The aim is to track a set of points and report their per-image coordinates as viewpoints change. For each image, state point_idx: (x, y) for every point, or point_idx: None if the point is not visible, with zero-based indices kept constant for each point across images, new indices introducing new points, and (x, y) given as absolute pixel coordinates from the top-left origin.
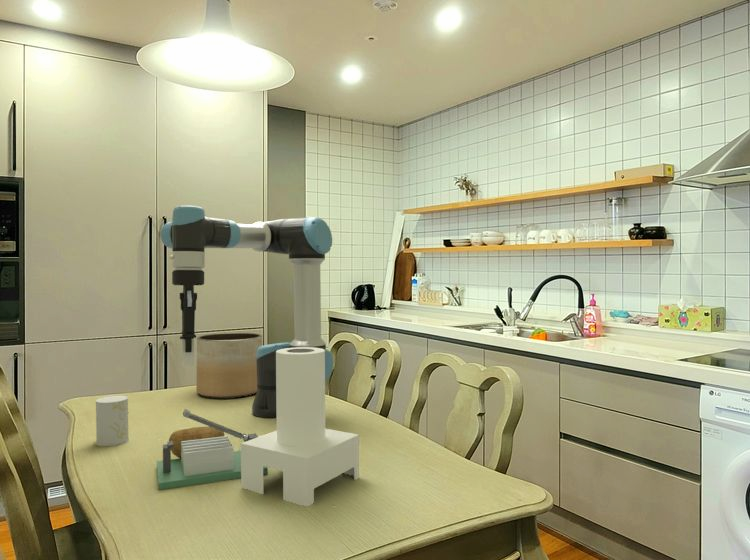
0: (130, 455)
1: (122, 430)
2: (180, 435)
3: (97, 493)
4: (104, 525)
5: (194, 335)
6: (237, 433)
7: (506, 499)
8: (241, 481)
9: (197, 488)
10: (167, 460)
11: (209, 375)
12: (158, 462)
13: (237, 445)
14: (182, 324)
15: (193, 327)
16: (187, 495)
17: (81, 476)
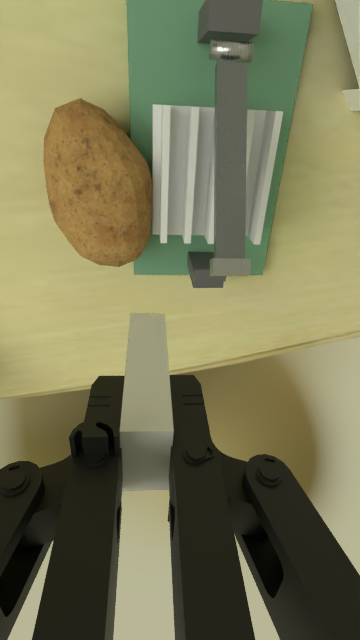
0: (34, 314)
1: None
2: (135, 245)
3: (220, 350)
4: (342, 335)
5: (277, 464)
6: (243, 82)
7: None
8: (357, 110)
9: (291, 203)
10: None
11: None
12: (142, 271)
13: (12, 35)
14: (10, 629)
15: (337, 552)
16: (313, 224)
17: None
